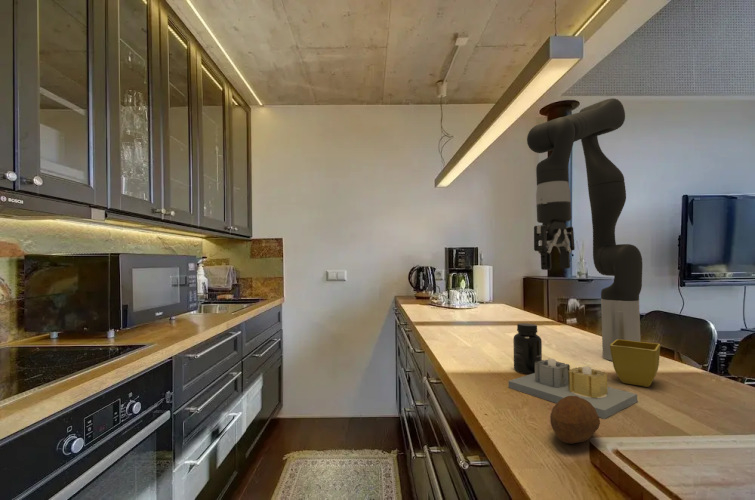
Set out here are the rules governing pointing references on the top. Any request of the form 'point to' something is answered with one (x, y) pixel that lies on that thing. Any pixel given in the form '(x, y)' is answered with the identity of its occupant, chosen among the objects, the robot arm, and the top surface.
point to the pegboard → (603, 405)
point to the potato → (574, 419)
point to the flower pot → (635, 361)
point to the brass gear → (587, 382)
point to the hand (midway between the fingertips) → (555, 269)
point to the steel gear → (552, 373)
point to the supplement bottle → (527, 348)
